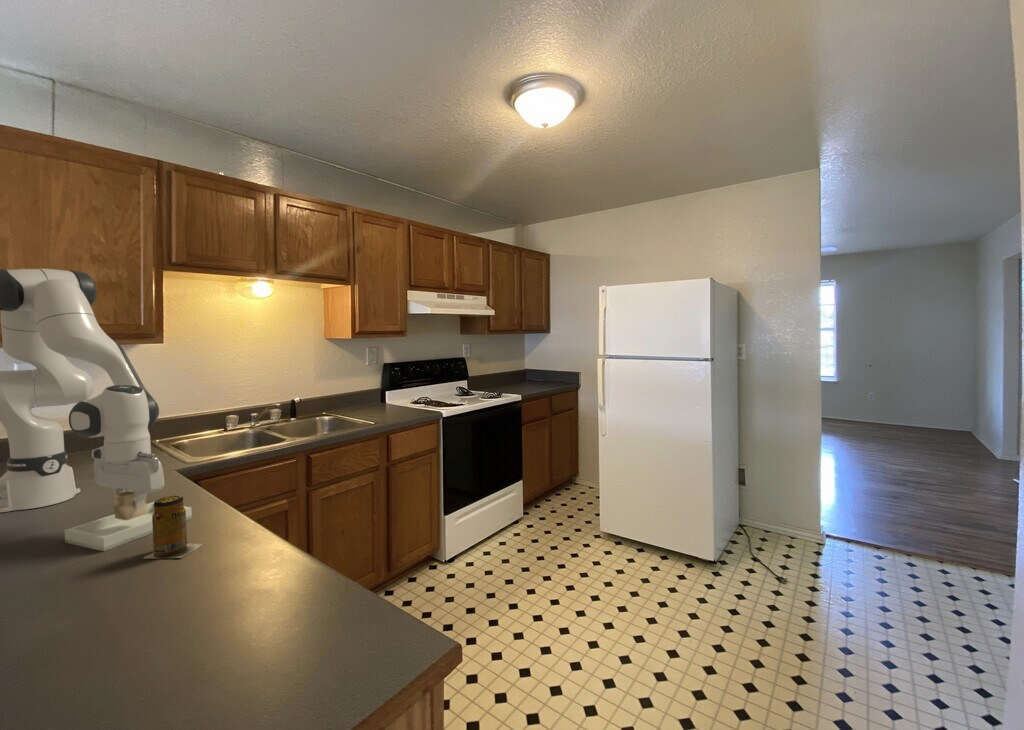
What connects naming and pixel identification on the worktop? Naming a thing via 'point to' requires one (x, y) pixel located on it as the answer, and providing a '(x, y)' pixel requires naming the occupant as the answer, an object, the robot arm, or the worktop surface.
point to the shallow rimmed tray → (113, 530)
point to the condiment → (170, 529)
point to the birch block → (127, 506)
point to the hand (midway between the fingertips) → (130, 505)
